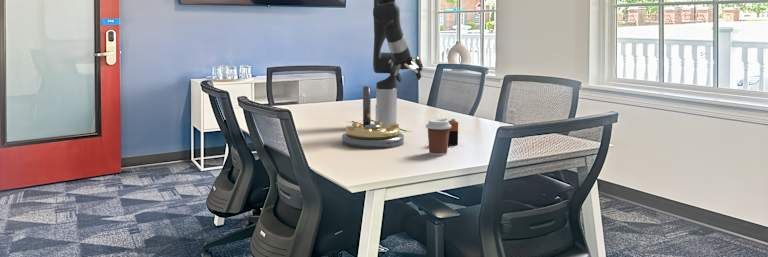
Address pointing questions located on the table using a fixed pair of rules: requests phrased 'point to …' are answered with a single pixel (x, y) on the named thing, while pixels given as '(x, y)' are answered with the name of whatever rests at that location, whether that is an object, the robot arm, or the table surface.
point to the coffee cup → (438, 136)
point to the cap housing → (373, 142)
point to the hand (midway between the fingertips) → (409, 80)
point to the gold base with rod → (370, 129)
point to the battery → (453, 132)
